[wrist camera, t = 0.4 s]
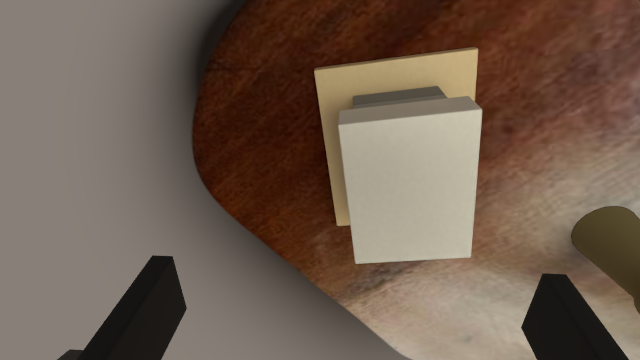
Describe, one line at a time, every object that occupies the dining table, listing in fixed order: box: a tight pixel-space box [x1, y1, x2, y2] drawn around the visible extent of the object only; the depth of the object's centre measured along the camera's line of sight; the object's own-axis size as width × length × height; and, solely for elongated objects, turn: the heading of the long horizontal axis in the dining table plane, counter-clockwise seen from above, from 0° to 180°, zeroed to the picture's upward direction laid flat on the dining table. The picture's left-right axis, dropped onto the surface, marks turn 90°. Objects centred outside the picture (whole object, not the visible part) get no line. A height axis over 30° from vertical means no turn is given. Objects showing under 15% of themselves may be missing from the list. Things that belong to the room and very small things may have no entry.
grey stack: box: [314, 47, 478, 226], centre depth 30 cm, size 16×13×6 cm
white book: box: [338, 96, 482, 264], centre depth 27 cm, size 12×9×3 cm
